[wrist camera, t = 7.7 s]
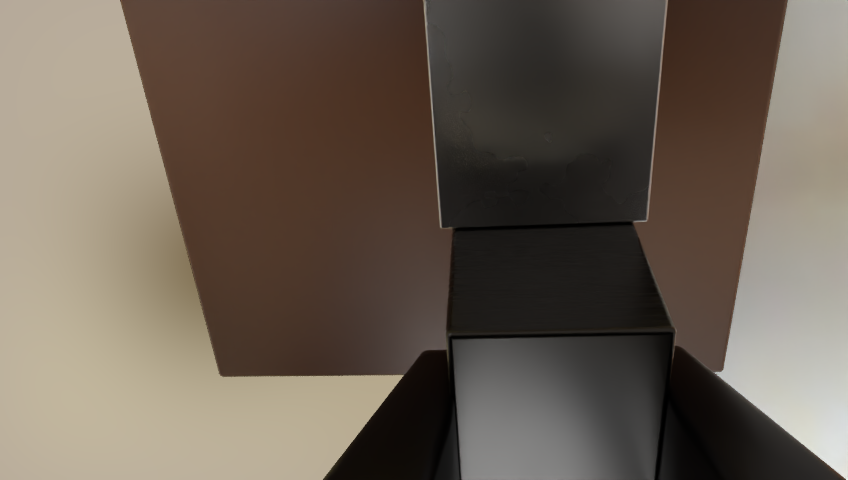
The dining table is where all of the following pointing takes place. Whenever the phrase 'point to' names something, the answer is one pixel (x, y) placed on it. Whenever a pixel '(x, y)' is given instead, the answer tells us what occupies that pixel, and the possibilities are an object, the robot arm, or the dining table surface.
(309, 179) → the board
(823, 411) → the dining table surface
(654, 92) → the knife
